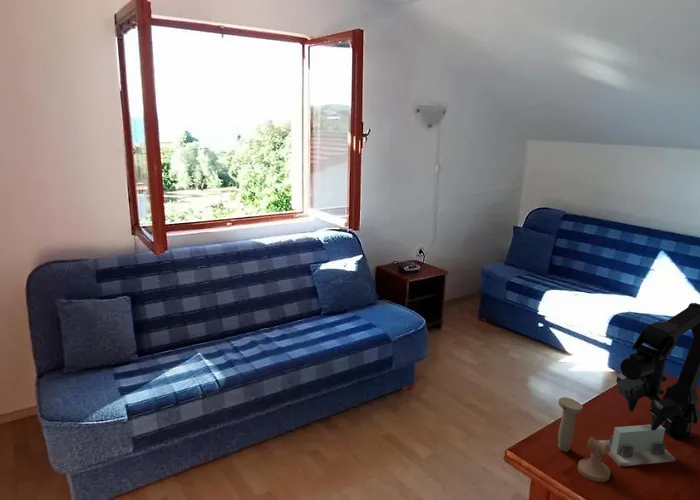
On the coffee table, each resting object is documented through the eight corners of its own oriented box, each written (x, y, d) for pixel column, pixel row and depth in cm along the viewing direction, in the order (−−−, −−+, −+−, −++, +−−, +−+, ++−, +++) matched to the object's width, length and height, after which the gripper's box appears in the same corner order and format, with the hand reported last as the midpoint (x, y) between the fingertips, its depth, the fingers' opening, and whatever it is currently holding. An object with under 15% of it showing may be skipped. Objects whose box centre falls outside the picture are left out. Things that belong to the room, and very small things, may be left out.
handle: (568, 457, 146) (575, 411, 142) (548, 445, 152) (555, 400, 148) (578, 452, 149) (586, 406, 145) (559, 440, 154) (566, 395, 150)
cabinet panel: (650, 439, 155) (652, 427, 154) (674, 461, 146) (677, 449, 145) (598, 443, 153) (600, 431, 152) (619, 466, 143) (622, 454, 142)
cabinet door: (654, 444, 151) (659, 423, 149) (660, 450, 149) (665, 429, 147) (610, 448, 149) (614, 427, 147) (616, 454, 147) (620, 432, 145)
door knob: (589, 427, 144) (619, 440, 139) (583, 457, 147) (613, 471, 142) (578, 440, 138) (609, 454, 133) (573, 471, 141) (604, 486, 136)
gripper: (604, 356, 150) (595, 403, 154) (648, 390, 132) (638, 443, 136) (638, 354, 152) (629, 401, 156) (687, 387, 134) (676, 439, 138)
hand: (641, 420), depth 146 cm, fingers open, 9 cm apart
